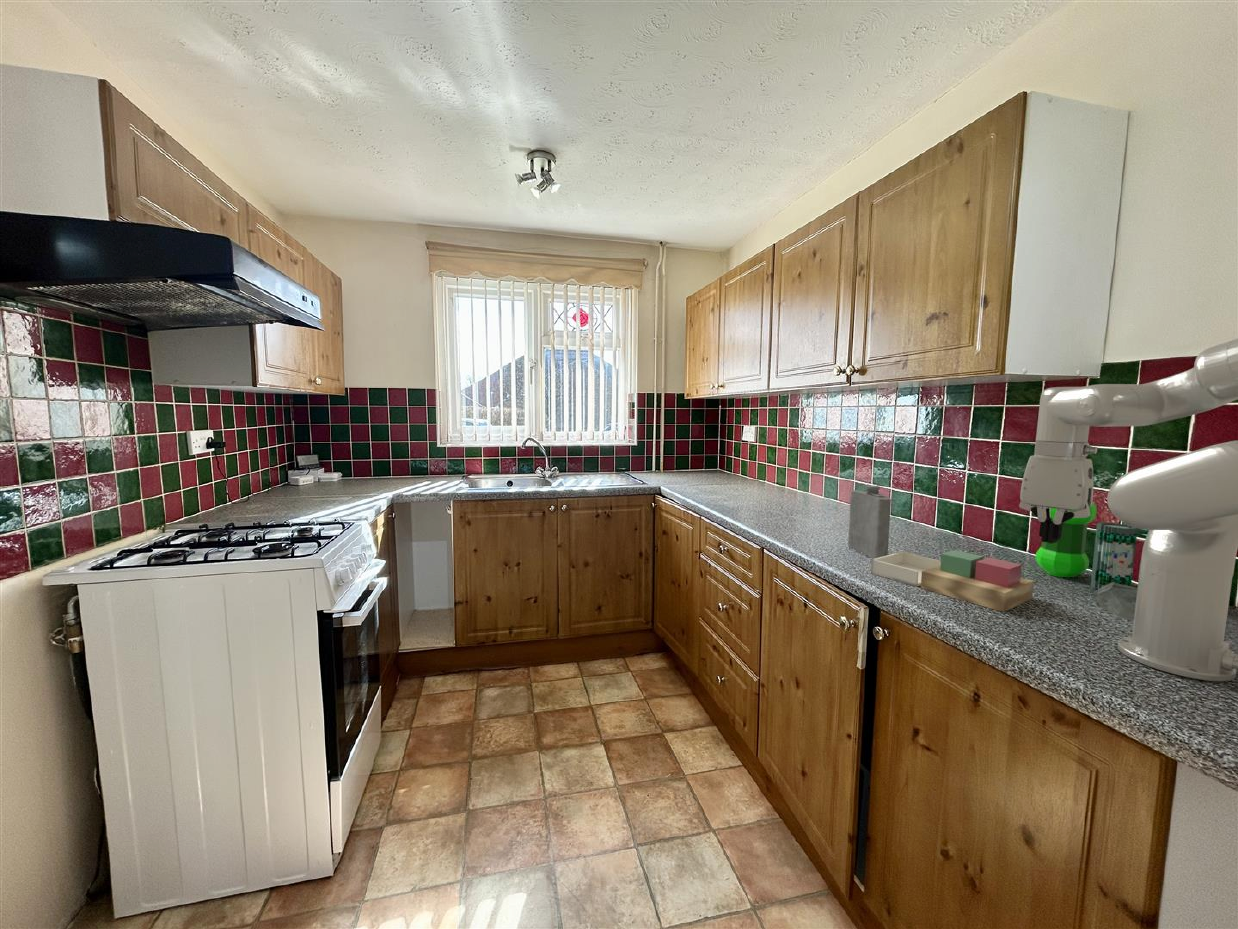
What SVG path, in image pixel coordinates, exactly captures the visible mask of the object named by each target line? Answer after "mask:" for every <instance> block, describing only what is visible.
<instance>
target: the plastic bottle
mask: <svg viewBox="0 0 1238 929" xmlns="http://www.w3.org/2000/svg"><path fill="white" fill-rule="evenodd" d="M1056 510H1057V509H1056V508H1050V512H1051V519H1052V520H1053V519H1054V516H1055V513H1056ZM1089 510H1090V516H1089V517H1086V518H1072V519H1070V520H1068V521H1066V522H1064V523H1063V526H1062V535H1061V539H1060V540H1058V541H1057V542H1055V543H1053V544H1051V543H1048V542H1042V541H1041V546H1040V547H1039V548H1038V550H1037V551H1036V553H1035V561H1036V563H1037V565H1039V567H1040V568H1042V570H1044V571H1045V573H1046V572H1047V573H1046V574H1048V575H1050V576H1053V577H1057V578H1063V577H1073V578H1075V577H1076V576H1078V575H1081V574H1082V573H1085V571H1087V569H1088V568H1089V566H1090V559H1089V558H1088V557H1089V556H1088V555H1087V554H1086V543H1087V532H1088V524H1089V523H1091V522H1093V521H1094V520H1095V518H1096V516H1097V512H1098V511H1097V506H1096V504H1095V503H1094V502H1093V501H1092V505H1091V507H1089ZM1070 511H1071V510H1070ZM1070 511H1069V512H1070Z"/></svg>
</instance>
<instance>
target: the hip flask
mask: <svg viewBox="0 0 1238 929" xmlns="http://www.w3.org/2000/svg"><path fill="white" fill-rule="evenodd" d="M864 486H865V487H864V488H865V489H866V490H865V491H863V490H860V489H859V490H855V489H851V490H850V497H849V498H850V500H849V520H848V524H849V525H848V538H847V540H848V542H847V548H848V547H849V548H851V549H854V550H856V551H858V552H862V553H863V554H865V555H867V556H868V557H870V558H872V559H875V558H879V557H883V556H887V555H889V554H888V553H889V537H890V524H891V523H890V521H891V507H892V506H891V505H892V498H890V497H888V496H886V495H884V494H880V492H879V491H880V487H881V486H880V485H874V484H872V485H871V484H870V485H868V484H867V485H864ZM856 551H855V552H856ZM858 552H857V553H858ZM863 554H862V555H863ZM865 555H864V556H865ZM867 556H866V557H867ZM868 557H867V558H868ZM870 558H869V559H870ZM872 559H871V560H872Z"/></svg>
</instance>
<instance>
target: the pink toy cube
mask: <svg viewBox="0 0 1238 929" xmlns="http://www.w3.org/2000/svg"><path fill="white" fill-rule="evenodd" d="M1021 578H1022V564H1021V563H1015V562H1012V561H1011V562H1010V561H1007V560H1002V559H997V558H993V557H986V558H984V559H983V560H980V561H977V562H976V571H975V580H979V581H983V582H987V583H991V584H995V585H998V586H1002V587H1006V588H1009V587H1011V586H1014V585H1016V584H1018V583H1020V579H1021Z"/></svg>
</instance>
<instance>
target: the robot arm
mask: <svg viewBox="0 0 1238 929" xmlns="http://www.w3.org/2000/svg"><path fill="white" fill-rule="evenodd" d="M1237 400H1238V338H1236V339H1235V338H1234V339H1232V340H1229V341H1226V342H1223V343H1220V344H1217V345H1214V346H1211V347H1208V348H1206V349H1204V350H1203V351H1201V352H1200V353H1199V354H1198V355H1197V357H1195V361H1194V366H1193V367H1192V368H1190V369H1187V370H1185V371H1183V372H1179V373H1176V374H1174V375H1171V376H1168V377H1164V378H1161V379H1157V380H1154V381H1150V382H1146V383H1142V384H1135V383H1131V384H1130V383H1127V384H1125V383H1102V384H1101V383H1099V384H1098V383H1097V384H1091V385H1086V386H1056V387H1049V388H1046V389H1044V390H1043V391H1042V392H1041V394H1040V399H1039V408H1038V415H1037V416H1038V418H1037V425H1036V435H1035V443H1034V444H1035V445H1034V454H1033V455H1030V456H1029V459H1028V461H1027V463H1026V467H1025V470H1024V474H1023V476H1022V477H1023V478H1022V482H1021V487H1020V494H1019V498H1020V502H1019V504H1018V507H1019V508H1020V509H1022V510H1026V511H1028V512H1031V513H1032V514H1033V515H1034V516H1035V517H1036V518H1037V520H1038V521H1039V522H1040V524H1039V533H1038V535H1039V537H1041V540H1040V541H1041V543H1042V542H1048V543H1051V544H1053V543H1055V542H1057V541H1058V540H1060V539H1061V535H1062V526H1063V523H1064V522H1066V521H1068V520H1070V519H1072V518H1086V517H1089V516H1090V510H1089V507H1091V505H1092V502H1093V500H1094V467H1093V466H1094V465H1093V461H1092V459H1091V458H1087V457H1088V455H1092V454H1095V455H1096V454H1097V453H1098V446H1092V445H1090V442H1088V441H1089V433H1090V427H1097V428H1098V427H1099V428H1100V427H1101V428H1103V427H1104V428H1107V427H1109V428H1110V427H1112V428H1114V427H1145V426H1150V425H1155V424H1160V423H1165V422H1169V421H1173V420H1178V419H1182V418H1186V417H1189V416H1190V417H1191V416H1193V415H1198V414H1201V413H1204V412H1207V411H1211V410H1213V409H1216V408H1219V407H1222V406H1226V405H1227V404H1229V403H1232V402H1234V401H1237ZM1106 497H1107V499H1106V500H1107V505H1108V508H1109V511H1110V512H1111V513H1112V515H1114V516H1115V518H1117V520H1119V521H1120V522H1122V523H1124V525H1129V526H1132V527H1135V528H1138V530H1144V531H1148V532H1147V534H1146V537H1145V539H1144V542H1143V547H1142V551H1141V559H1140V565H1139V573H1138V583H1137V588H1138V589H1137V598H1136V607H1135V615H1134V620H1133V624H1132V625H1133V627H1132V634H1131V636H1127V637H1122V638H1120V639H1118V640H1117V646H1116V647H1117V649H1118V650H1119V652H1121V653H1122V654H1123V655H1125V656H1126V657H1128V658H1130V659H1132V660H1133V661H1136V662H1137V663H1139V664H1143V665H1145V666H1148V667H1150V668H1153V669H1156V670H1159V671H1161V672H1166V673H1168V674H1173V675H1177V676H1181V677H1183V678H1184V677H1185V678H1189V679H1190V678H1191V679H1195V680H1201V681H1209V682H1229V681H1233V680H1234V679H1236V677H1237V671H1238V654H1237V653H1235V651H1232V650H1230V645H1231V643H1230V642H1228V641H1224V640H1225V634H1226V627H1227V626H1226V625H1227V619H1228V612H1229V606H1230V597H1231V590H1232V584H1233V583H1232V582H1233V577H1234V572H1235V567H1236V566H1235V565H1236V558H1237V552H1238V440H1231V441H1227V442H1220V443H1217V444H1213V445H1209V446H1206V447H1202V448H1200V449H1196V450H1193V451H1190V452H1187V453H1184V454H1180V455H1177V456H1174V457H1171V458H1168V459H1163V460H1161V461H1158V462H1154V463H1152V464H1148V465H1146V466H1143V467H1140V468H1137V469H1134V470H1131V471H1128V472H1126V473H1125V474H1123V475H1122V476H1120V477H1118V478H1117V479H1116V480H1115V481H1114V482H1113V484H1112V485H1111V486H1110V488H1109V490H1108V493H1107V496H1106ZM1050 508H1056V509H1057V510H1056V513H1055V516H1054V519H1053V520H1052V519H1051V512H1050ZM1070 510H1071V511H1070ZM1069 511H1070V512H1069Z"/></svg>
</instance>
